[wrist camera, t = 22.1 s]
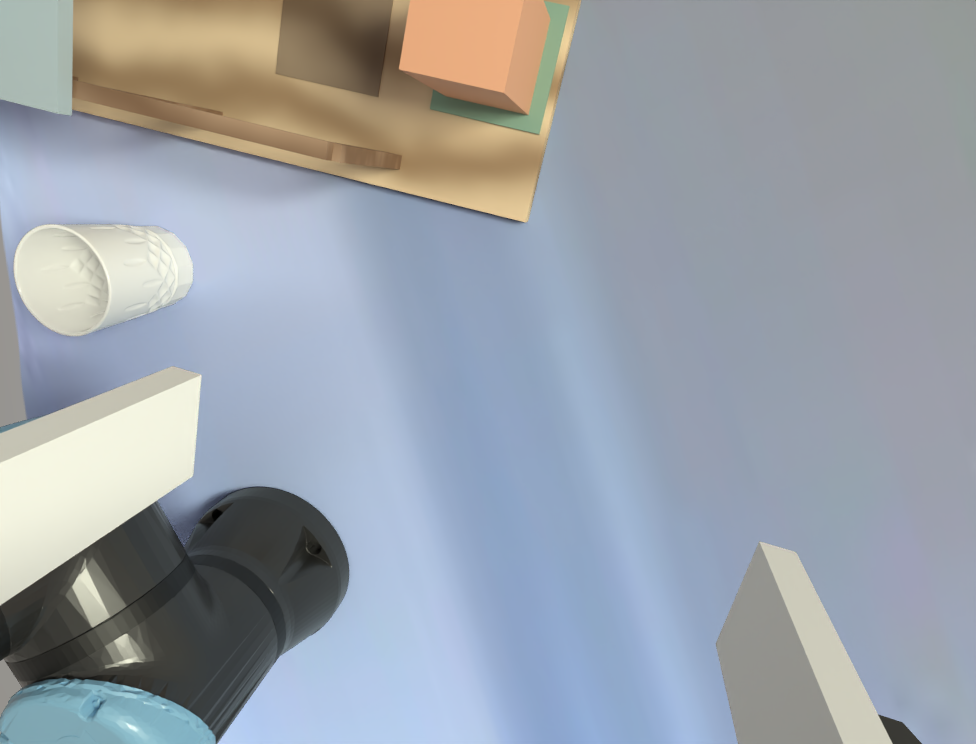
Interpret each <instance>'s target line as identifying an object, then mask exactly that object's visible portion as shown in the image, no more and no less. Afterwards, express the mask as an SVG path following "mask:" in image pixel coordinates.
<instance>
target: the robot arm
mask: <svg viewBox="0 0 976 744" xmlns="http://www.w3.org/2000/svg"><path fill="white" fill-rule="evenodd" d="M200 387H201V375H200V374H197V373H194V372H190V371H187V370H184V369H180V368H177V367H174V366H172V367H169V368H167V369H164V370H161V371H159V372H156V373H154V374H151V375H149V376H146V377H144V378H141V379H138V380H136V381H133V382H131V383H128V384H126V385H123V386H120V387H118V388H115V389H113V390H110V391H108V392H105V393H103V394H100V395H97V396H95V397H92V398H90V399H87V400H85V401H82V402H79V403H77V404H74V405H72V406H69V407H67V408H64V409H62V410H59V411H56V412H54V413H51V414H48V415H44V416H40V417H36V418H32V419H28V420H24V421H21V422H17V423H13V424H9V425H6V426H3V427H0V661H1V660H2V659H4V660H5V662H6V663H7V665H8V666H9V668H10V669H11V671H12V672H13V674H14V675H15V677H16V678H17V680H18V682H19V683H20V685H21V687H22V689H20V690H19V691H18V692H17V693H16V694H14V695H13V696H12V697H11V699H10V700H9V702H8V705H7V706H6V708H5V709H4V711H3V713H2V714H1V717H0V731H1V734H0V744H217V743H218V742H219V741H220V739H221V738H222V736H223V735H224V734H225V732H226V731H227V729H228V728H229V726H230V725H231V724H232V722H233V721H234V719H235V718H236V717H237V715H238V714H239V712H240V711H241V710H242V708H243V707H244V705H245V704H246V703H247V701H248V700H249V698H250V697H251V696H252V694H253V693H254V691H255V690H256V688H257V687H258V686H259V684H260V683H261V681H262V680H263V679H264V677H265V676H266V674H267V673H268V672H269V670H270V669H271V667H272V666H273V665H274V663H275V662H276V660H277V659H278V658H279V656H281V655H282V654H284V653H285V652H287V651H288V650H290V649H291V648H293V647H294V646H296V645H297V644H299V643H300V642H302V641H303V640H304V639H306V638H307V637H309V636H310V635H312V634H314V633H315V632H317V631H318V630H320V629H321V628H322V627H323V626H324V625H325V624H326V623H327V622H328V621H329V619H330V618H331V617H332V615H333V614H334V612H335V611H336V609H337V608H338V606H339V605H340V603H341V602H342V600H343V598H344V596H345V594H346V591H347V587H348V582H349V564H348V558H347V554H346V551H345V548H344V546H343V543H342V541H341V539H340V537H339V535H338V534H337V532H336V530H335V529H334V528H333V526H332V525H331V524H330V522H329V521H328V520H327V519H326V518H325V517H324V516H323V515H322V514H321V513H320V512H319V511H318V510H317V509H316V508H314V507H313V506H312V505H310V504H309V503H308V502H306V501H304V500H303V499H301V498H299V497H297V496H295V495H293V494H291V493H288V492H285V491H282V490H278V489H274V488H267V487H253V488H246V489H242V490H239V491H236V492H234V493H231V494H230V495H228V496H226V497H225V498H223V499H222V500H221V501H219V502H218V503H217V504H216V505H214V506H213V507H212V508H211V509H209V510H208V511H207V512H206V513H205V514H204V515H203V516H202V518H201V519H200V520H199V521H198V523H197V524H196V526H195V528H194V530H193V532H192V533H191V535H190V537H189V539H188V541H187V542H186V544H185V546H184V547H183V546H182V544H181V542H180V540H179V538H178V537H177V535H176V533H175V531H174V530H173V528H172V526H171V524H170V523H169V521H168V519H167V517H166V515H165V514H164V512H163V510H162V508H161V507H160V505H159V503H158V501H157V500H158V499H160V498H161V497H163V496H164V495H166V494H167V493H169V492H170V491H172V490H173V489H175V488H176V487H178V486H179V485H181V484H182V483H184V482H185V481H187V480H188V479H190V478H191V477H193V471H194V459H195V447H196V435H197V423H198V411H199V399H200ZM716 647H717V652H718V656H719V661H720V665H721V670H722V674H723V679H724V683H725V688H726V692H727V696H728V701H729V705H730V710H731V714H732V719H733V723H734V728H735V732H736V737H737V741H738V744H922V743H921V742H920V741H919V740H918V739H917V738H916V737H915V736H914V735H913V733H912V732H911V731H910V730H909V729H908V728H907V727H906V726H905V725H904V724H903V722H899V721H896V720H893V719H890V718H887V717H884V716H881V715H878V714H877V712H876V710H875V708H874V706H873V704H872V702H871V700H870V698H869V696H868V694H867V692H866V690H865V688H864V686H863V684H862V682H861V680H860V678H859V676H858V674H857V672H856V670H855V668H854V666H853V664H852V662H851V660H850V658H849V656H848V654H847V652H846V650H845V648H844V646H843V644H842V642H841V640H840V638H839V637H838V635H837V633H836V631H835V629H834V627H833V625H832V623H831V621H830V619H829V617H828V615H827V613H826V611H825V609H824V607H823V605H822V603H821V601H820V599H819V597H818V595H817V593H816V591H815V589H814V587H813V585H812V583H811V581H810V579H809V577H808V575H807V573H806V571H805V569H804V567H803V565H802V563H801V561H800V559H799V557H798V555H797V553H796V552H793V551H790V550H787V549H783V548H780V547H776V546H773V545H770V544H766V543H763V542H760V541H759V543H758V546H757V548H756V550H755V553H754V555H753V557H752V560H751V562H750V564H749V567H748V569H747V571H746V574H745V576H744V579H743V581H742V583H741V586H740V588H739V590H738V593H737V595H736V597H735V600H734V602H733V604H732V607H731V609H730V611H729V614H728V616H727V618H726V621H725V623H724V625H723V628H722V630H721V633H720V635H719V637H718V640H717V642H716Z"/></svg>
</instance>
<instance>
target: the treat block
mask: <svg viewBox="0 0 976 744" xmlns="http://www.w3.org/2000/svg"><path fill="white" fill-rule="evenodd" d="M549 23H550V16H549V14H548V11H547V8H546V6H545V3H544V0H410V4H409V10H408V16H407V22H406V28H405V34H404V41H403V47H402V53H401V59H400V65H399V70H401V71H403V72H404V73H406V74H408V75H410V76H411V77H413V78H415V79H417V80H418V81H420V82H422V83H423V84H425V85H427V86H429V87H430V88H432V89H434V90H436V91H437V92H439V93H441V94H443V95H444V96H446V97H451V98H455V99H460V100H464V101H468V102H473V103H477V104H482V105H486V106H490V107H495V108H499V109H504V110H508V111H512V112H517V113H521V114H526V115H529V111H530V106H531V102H532V98H533V93H534V89H535V85H536V80H537V76H538V71H539V67H540V63H541V58H542V54H543V50H544V45H545V41H546V37H547V32H548V28H549Z"/></svg>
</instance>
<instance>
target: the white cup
mask: <svg viewBox="0 0 976 744" xmlns="http://www.w3.org/2000/svg"><path fill="white" fill-rule="evenodd" d="M14 278H15V283H16V286H17V289H18V292H19V294H20V297H21V299H22V301H23V302H24V304H25V306H26V307H27V309H28V310H29V311H30V313H31V314H32V315H33V316H34V317H35V318H36V319H37V320H38V321H39V322H40V323H41V324H43V325H44V326H45V327H47V328H49V329H50V330H52V331H54V332H56V333H59V334H62V335H66V336H82V335H86V334H89V333H92V332H95V331H98V330H101V329H104V328H107V327H110V326H114V325H117V324H120V323H123V322H126V321H129V320H132V319H135V318H138V317H140V316H143V315H146V314H149V313H151V312H154V311H156V310H158V309H161V308H164V307H167V306H170V305H173V304H175V303H176V302H178V301H179V300H181V299H182V298H184V297H185V296H186V295H187V293H188V291H189V289H190V287H191V285H192V283H193V263H192V260H191V258H190V255H189V253H188V250H187V248H186V246H185V245H184V244H183V243H182V242H181V241H180V240H179V239H178V238H177V236H176V235H175V234H174V233H172V232H169V231H167V230H165V229H163V228H160V227H158V226H130V225H115V224H47V225H41V226H38V227H36V228H34V229H32V230H30V231H29V232H28V233H27V234H26V235H25V236H24V237H23V238H22V239H21V241H20V242H19V244H18V246H17V249H16V252H15V256H14Z"/></svg>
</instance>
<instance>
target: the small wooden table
mask: <svg viewBox="0 0 976 744" xmlns="http://www.w3.org/2000/svg"><path fill="white" fill-rule="evenodd" d="M544 1H548V2H552V3H557V4H562V5H567V6H569V7H570V8H569V12H568V16H567V20H566V25H565V29H564V33H563V37H562V41H561V46H560V50H559V54H558V58H557V63H556V67H555V71H554V75H553V79H552V84H551V88H550V92H549V96H548V101H547V105H546V109H545V113H544V118H543V122H542V126H541V130H540V134H535V133H530V132H526V131H522V130H517V129H513V128H509V127H504V126H500V125H496V124H491V123H487V122H483V121H478V120H474V119H470V118H466V117H461V116H457V115H453V114H448V113H444V112H440V111H435V110H431V109H430V104H431V99H432V93H433V89H432V88H430V87H429V86H427V85H425V84H423V83H422V82H420V81H418V80H417V79H415V78H413V77H411V76H410V75H408V74H406V73H404V72H403V71H401V70H399V65H400V59H401V53H402V47H403V41H404V34H405V28H406V22H407V16H408V10H409V4H410V0H73V61H72V110H76V111H80V112H84V113H88V114H92V115H96V116H100V117H104V118H108V119H112V120H116V121H120V122H124V123H128V124H132V125H136V126H140V127H144V128H148V129H152V130H156V131H160V132H165V133H169V134H173V135H177V136H181V137H185V138H189V139H193V140H197V141H201V142H205V143H209V144H213V145H217V146H221V147H225V148H229V149H233V150H237V151H241V152H245V153H249V154H253V155H257V156H261V157H265V158H269V159H273V160H277V161H281V162H285V163H289V164H293V165H297V166H301V167H305V168H309V169H313V170H317V171H321V172H325V173H329V174H333V175H337V176H341V177H345V178H349V179H353V180H357V181H361V182H365V183H369V184H373V185H377V186H381V187H385V188H389V189H393V190H397V191H401V192H405V193H409V194H413V195H417V196H421V197H425V198H429V199H433V200H437V201H441V202H446V203H450V204H454V205H458V206H462V207H466V208H470V209H474V210H478V211H482V212H486V213H490V214H494V215H498V216H502V217H506V218H510V219H514V220H518V221H522V222H528V219H529V215H530V211H531V207H532V203H533V198H534V194H535V190H536V186H537V182H538V178H539V174H540V169H541V165H542V161H543V157H544V153H545V149H546V145H547V140H548V136H549V132H550V128H551V124H552V120H553V116H554V111H555V107H556V103H557V99H558V95H559V91H560V86H561V82H562V78H563V74H564V70H565V66H566V62H567V57H568V53H569V49H570V45H571V41H572V37H573V33H574V28H575V24H576V20H577V16H578V12H579V8H580V4H581V0H544Z"/></svg>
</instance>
